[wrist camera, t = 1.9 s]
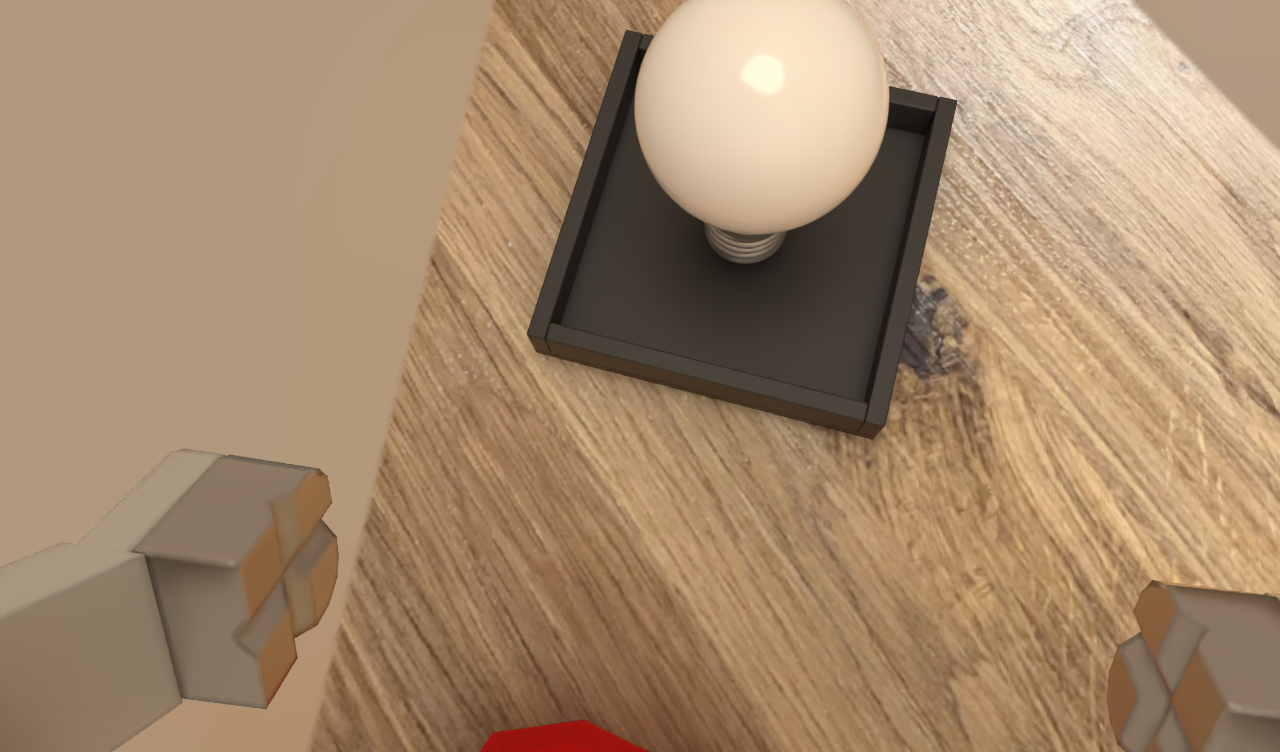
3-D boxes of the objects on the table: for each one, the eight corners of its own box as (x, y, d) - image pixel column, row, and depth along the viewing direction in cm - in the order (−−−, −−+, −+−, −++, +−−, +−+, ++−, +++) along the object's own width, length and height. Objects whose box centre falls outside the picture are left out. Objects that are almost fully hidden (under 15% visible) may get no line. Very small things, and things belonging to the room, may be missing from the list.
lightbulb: (767, 362, 31) (805, 214, 20) (610, 253, 32) (568, 61, 21) (878, 213, 32) (971, 0, 21) (723, 114, 33) (736, -134, 22)
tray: (535, 352, 32) (526, 334, 30) (629, 61, 34) (625, 28, 32) (873, 439, 30) (884, 426, 28) (943, 129, 33) (957, 99, 31)
